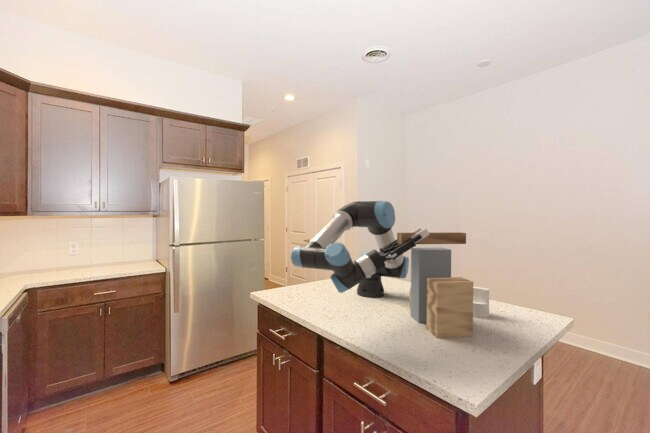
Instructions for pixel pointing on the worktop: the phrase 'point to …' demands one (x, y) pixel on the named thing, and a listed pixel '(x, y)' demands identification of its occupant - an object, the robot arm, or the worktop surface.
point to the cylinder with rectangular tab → (480, 302)
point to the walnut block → (436, 238)
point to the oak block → (450, 307)
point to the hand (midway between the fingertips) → (424, 231)
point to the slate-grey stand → (426, 276)
